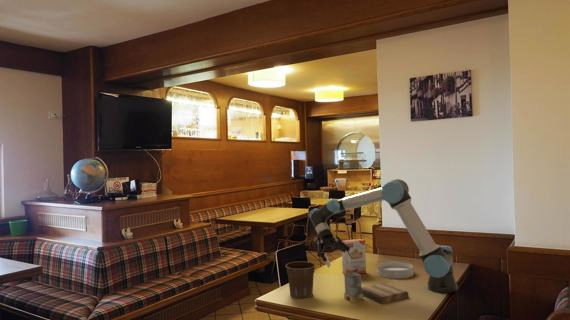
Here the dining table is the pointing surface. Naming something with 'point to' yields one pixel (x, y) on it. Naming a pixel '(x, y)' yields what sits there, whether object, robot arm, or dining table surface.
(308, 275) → the plant pot
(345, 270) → the cracker box
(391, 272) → the dish
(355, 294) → the grey upright cylinder
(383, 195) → the robot arm
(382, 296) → the block
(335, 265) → the dining table surface
